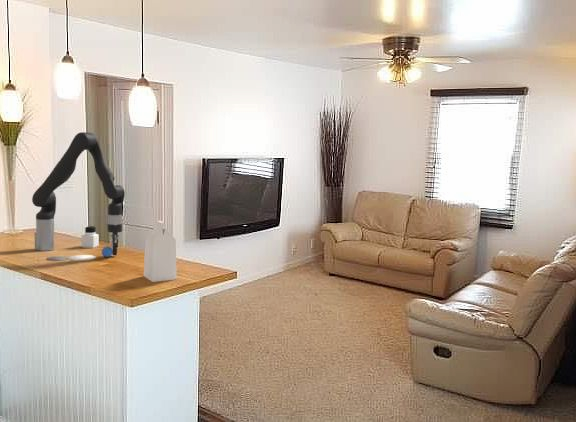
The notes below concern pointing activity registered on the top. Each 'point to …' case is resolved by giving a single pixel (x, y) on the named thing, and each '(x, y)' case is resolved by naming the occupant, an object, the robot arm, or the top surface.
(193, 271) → the top surface
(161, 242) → the milk
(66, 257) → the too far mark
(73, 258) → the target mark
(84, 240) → the medicine bottle
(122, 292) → the top surface
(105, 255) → the ball
